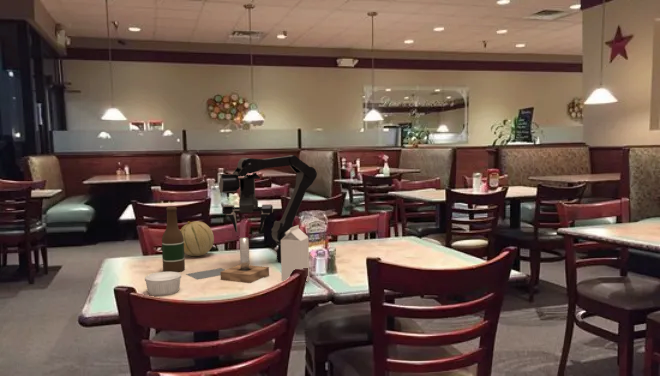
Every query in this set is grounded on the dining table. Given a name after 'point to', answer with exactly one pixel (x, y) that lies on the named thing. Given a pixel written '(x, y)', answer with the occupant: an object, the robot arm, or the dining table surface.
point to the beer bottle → (173, 244)
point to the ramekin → (163, 283)
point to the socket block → (245, 274)
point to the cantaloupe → (197, 238)
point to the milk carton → (294, 252)
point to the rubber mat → (206, 273)
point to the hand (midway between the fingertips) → (248, 231)
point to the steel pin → (244, 254)
